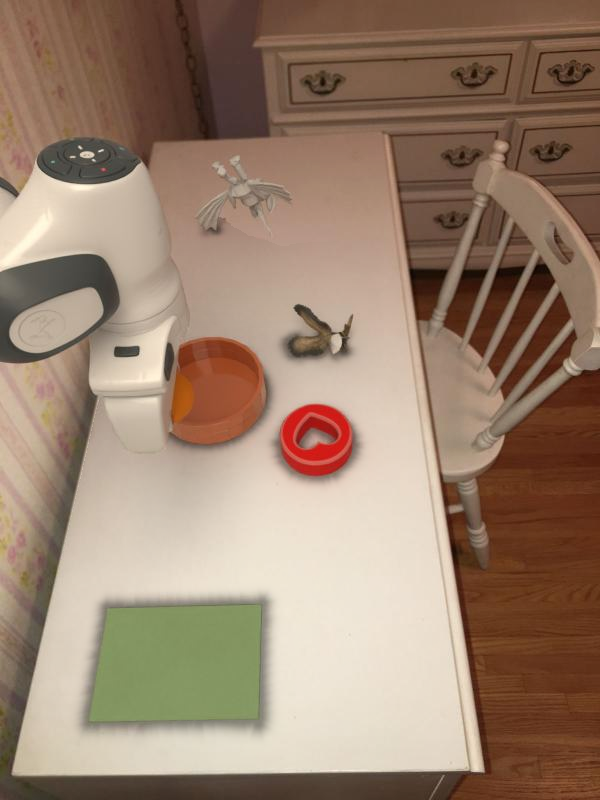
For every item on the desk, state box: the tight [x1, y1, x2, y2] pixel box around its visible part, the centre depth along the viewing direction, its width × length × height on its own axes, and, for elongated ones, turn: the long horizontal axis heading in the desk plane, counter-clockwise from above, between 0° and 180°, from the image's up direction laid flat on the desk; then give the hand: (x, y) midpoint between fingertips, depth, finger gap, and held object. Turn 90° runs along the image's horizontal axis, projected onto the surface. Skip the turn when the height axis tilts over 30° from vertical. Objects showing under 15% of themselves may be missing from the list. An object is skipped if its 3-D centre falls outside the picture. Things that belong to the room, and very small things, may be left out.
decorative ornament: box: [279, 403, 354, 477], centre depth 86 cm, size 10×10×3 cm
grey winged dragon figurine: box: [194, 154, 295, 239], centre depth 109 cm, size 10×18×14 cm, turn 85°
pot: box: [170, 336, 267, 445], centre depth 91 cm, size 16×16×4 cm
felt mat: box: [88, 604, 263, 723], centre depth 71 cm, size 18×12×1 cm, turn 90°
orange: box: [171, 372, 194, 423], centre depth 69 cm, size 6×6×6 cm
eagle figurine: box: [286, 303, 354, 357], centre depth 95 cm, size 8×7×9 cm
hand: (169, 401), depth 70 cm, fingers closed on orange, 5 cm apart
